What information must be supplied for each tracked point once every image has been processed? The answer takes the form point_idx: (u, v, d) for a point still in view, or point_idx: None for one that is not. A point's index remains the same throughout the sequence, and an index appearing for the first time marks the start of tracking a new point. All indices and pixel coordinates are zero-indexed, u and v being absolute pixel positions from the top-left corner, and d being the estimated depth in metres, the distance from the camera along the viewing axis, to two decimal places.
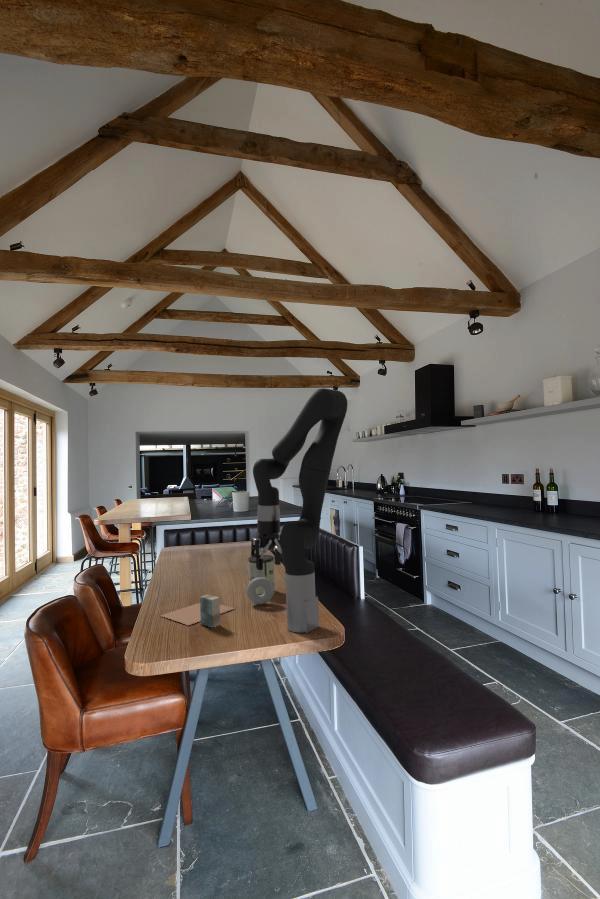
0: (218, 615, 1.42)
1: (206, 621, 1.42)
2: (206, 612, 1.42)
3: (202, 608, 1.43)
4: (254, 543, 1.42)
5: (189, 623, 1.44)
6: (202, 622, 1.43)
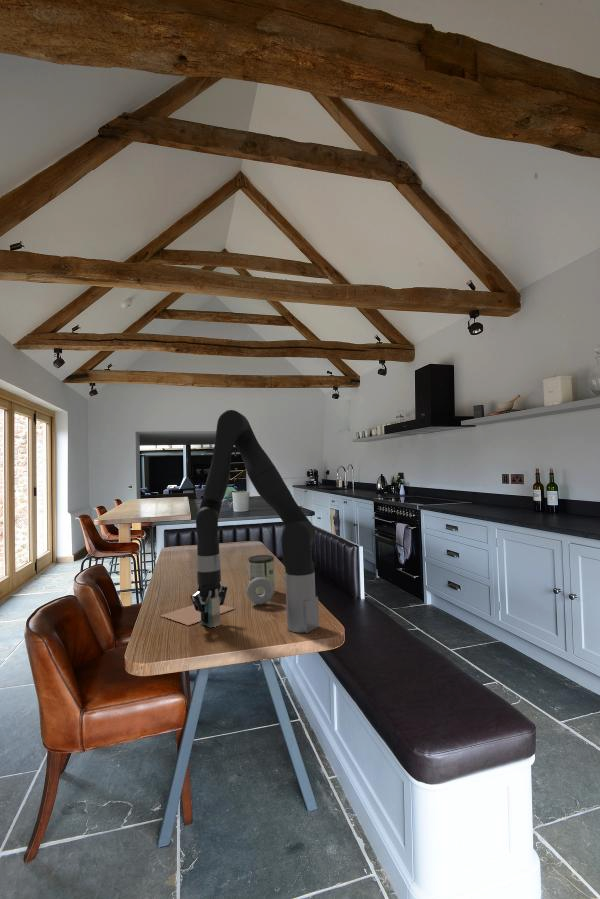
0: (218, 615, 1.42)
1: None
2: None
3: None
4: (194, 600, 1.39)
5: (189, 623, 1.44)
6: (202, 622, 1.43)
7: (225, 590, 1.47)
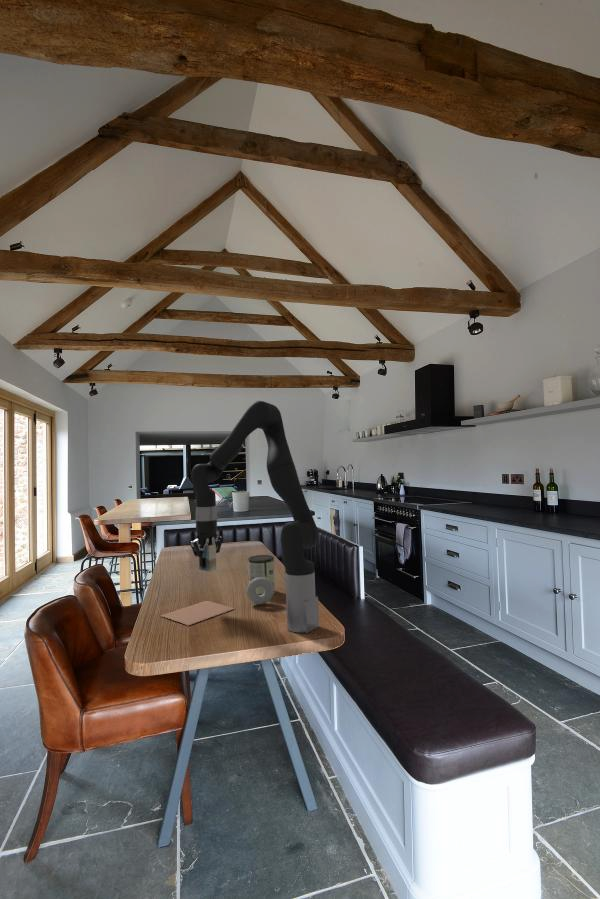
0: (214, 560, 1.59)
1: None
2: None
3: None
4: (193, 546, 1.55)
5: (189, 623, 1.44)
6: (200, 567, 1.60)
7: (221, 540, 1.64)
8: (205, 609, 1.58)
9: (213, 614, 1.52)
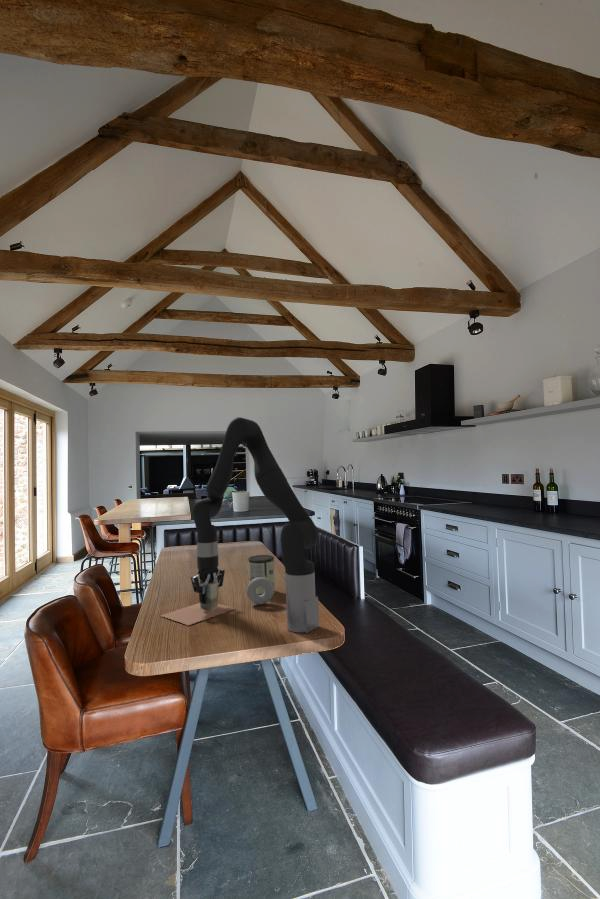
0: (216, 599, 1.58)
1: (205, 604, 1.58)
2: (205, 596, 1.58)
3: None
4: (193, 581, 1.55)
5: (189, 623, 1.44)
6: (201, 605, 1.59)
7: (223, 573, 1.64)
8: (205, 609, 1.58)
9: (213, 614, 1.52)
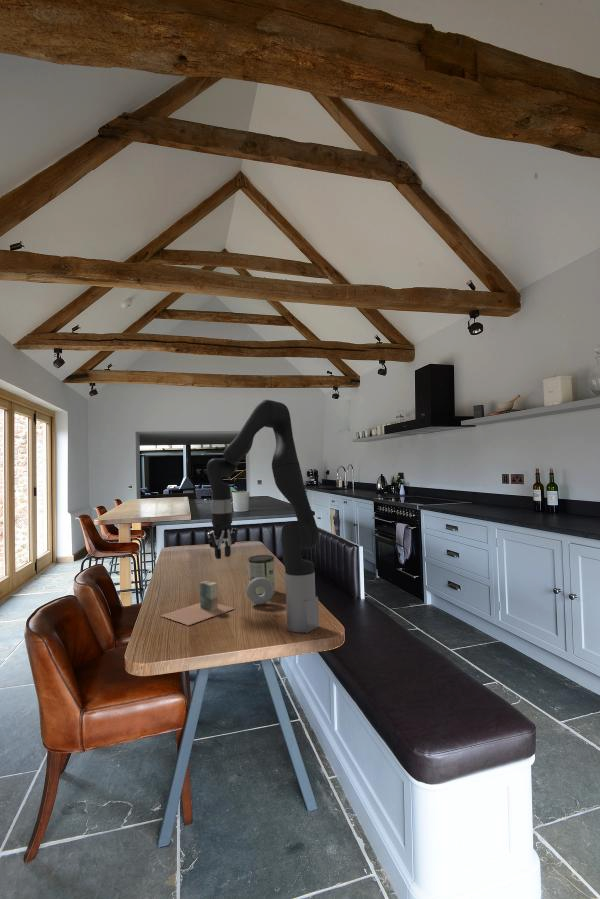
0: (216, 599, 1.58)
1: (205, 604, 1.58)
2: (205, 596, 1.58)
3: (201, 593, 1.59)
4: (209, 537, 1.61)
5: (189, 623, 1.44)
6: (201, 605, 1.59)
7: (236, 531, 1.69)
8: (205, 609, 1.58)
9: (213, 614, 1.52)
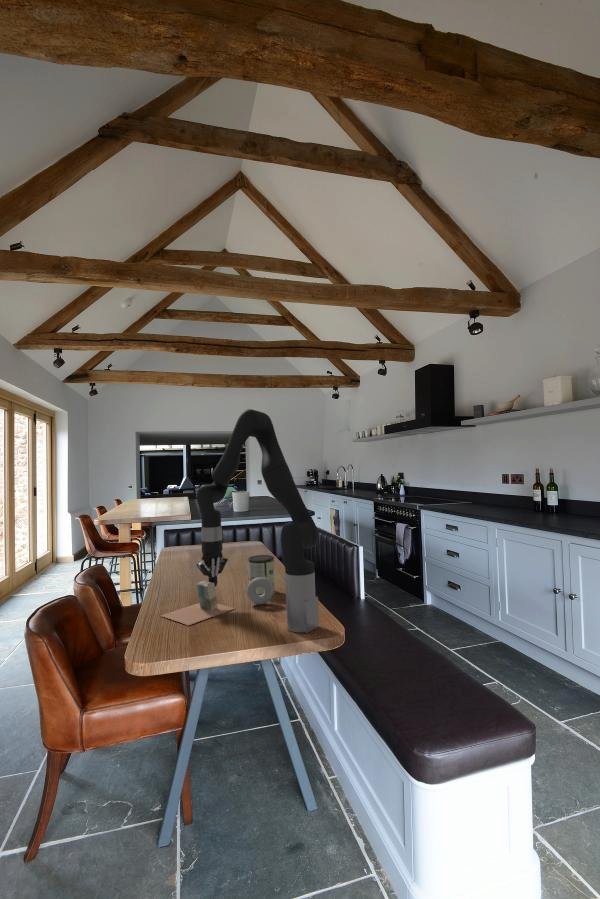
0: (215, 598, 1.58)
1: (204, 605, 1.58)
2: (204, 597, 1.57)
3: (200, 593, 1.59)
4: (200, 568, 1.57)
5: (189, 623, 1.44)
6: (201, 605, 1.59)
7: (225, 561, 1.65)
8: (205, 609, 1.58)
9: (213, 614, 1.52)
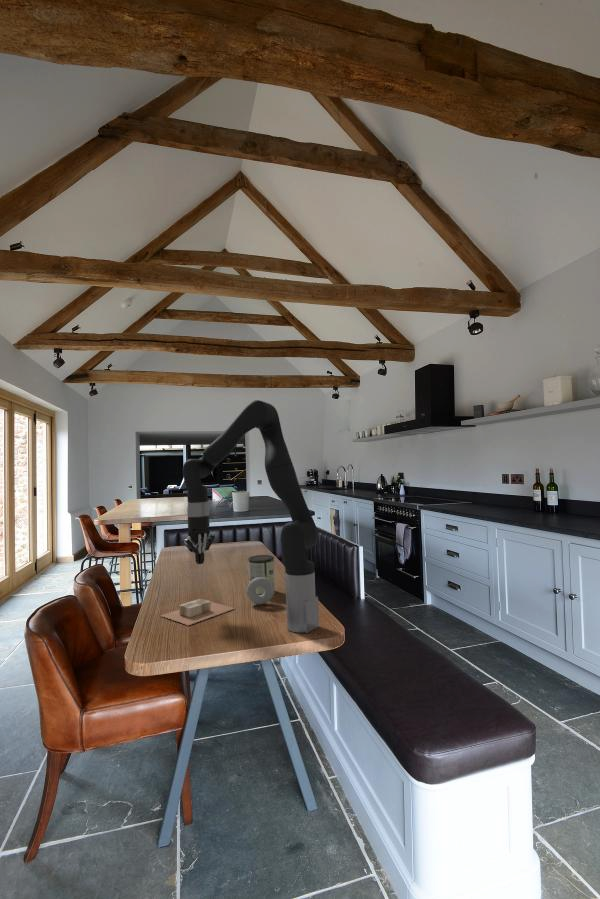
0: (203, 605, 1.54)
1: None
2: None
3: None
4: (186, 544, 1.53)
5: (189, 623, 1.44)
6: None
7: (212, 538, 1.61)
8: None
9: (213, 614, 1.52)
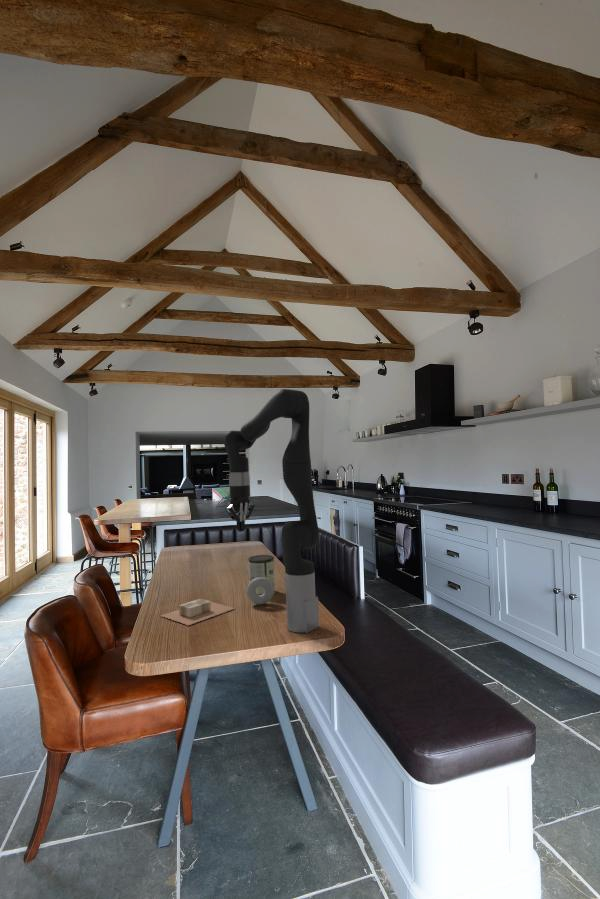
0: (203, 605, 1.54)
1: None
2: None
3: None
4: (229, 511, 1.59)
5: (189, 623, 1.44)
6: None
7: (252, 507, 1.67)
8: None
9: (213, 614, 1.52)
